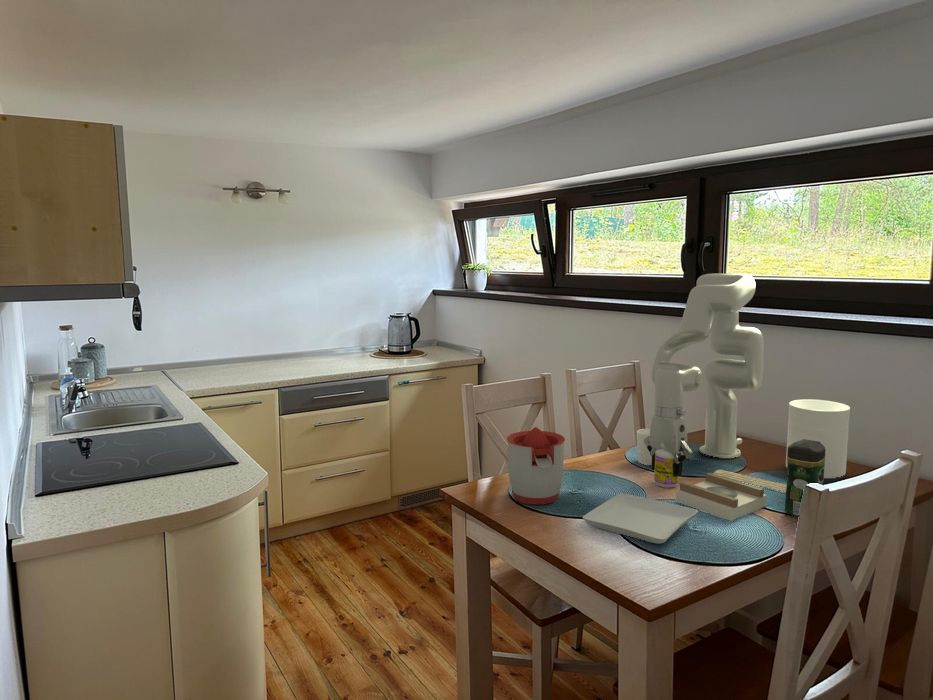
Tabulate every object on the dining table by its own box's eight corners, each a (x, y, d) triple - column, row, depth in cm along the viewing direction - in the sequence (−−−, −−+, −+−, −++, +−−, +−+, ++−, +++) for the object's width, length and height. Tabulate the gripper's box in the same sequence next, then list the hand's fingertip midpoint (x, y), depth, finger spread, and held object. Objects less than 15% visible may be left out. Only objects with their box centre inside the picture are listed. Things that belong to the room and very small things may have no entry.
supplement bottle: (650, 484, 182) (651, 441, 180) (660, 478, 187) (661, 436, 185) (672, 490, 178) (673, 445, 176) (682, 483, 183) (683, 440, 181)
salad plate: (580, 529, 154) (580, 515, 154) (620, 503, 170) (620, 490, 170) (664, 553, 140) (664, 539, 140) (699, 522, 157) (699, 509, 156)
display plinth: (711, 488, 178) (712, 471, 177) (766, 506, 165) (767, 487, 164) (675, 501, 169) (676, 483, 168) (730, 521, 156) (730, 501, 155)
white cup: (665, 466, 198) (665, 435, 197) (639, 466, 198) (640, 435, 197) (657, 458, 206) (658, 428, 205) (633, 458, 206) (634, 428, 205)
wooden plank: (712, 478, 189) (712, 472, 188) (722, 472, 194) (723, 466, 193) (796, 498, 172) (796, 492, 172) (805, 491, 177) (805, 485, 176)
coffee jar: (792, 503, 166) (796, 435, 164) (825, 511, 161) (830, 440, 158) (779, 514, 160) (783, 443, 157) (814, 523, 154) (818, 449, 152)
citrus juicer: (515, 513, 163) (515, 438, 161) (502, 490, 180) (501, 421, 178) (574, 509, 166) (574, 434, 163) (555, 486, 183) (555, 418, 180)
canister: (857, 472, 189) (862, 407, 186) (822, 481, 182) (826, 413, 179) (808, 458, 203) (811, 397, 201) (774, 466, 196) (777, 403, 194)
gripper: (703, 415, 174) (700, 477, 177) (652, 404, 189) (650, 462, 191) (686, 419, 170) (684, 483, 173) (635, 408, 184) (634, 467, 187)
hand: (666, 471), depth 182 cm, fingers closed on supplement bottle, 6 cm apart
